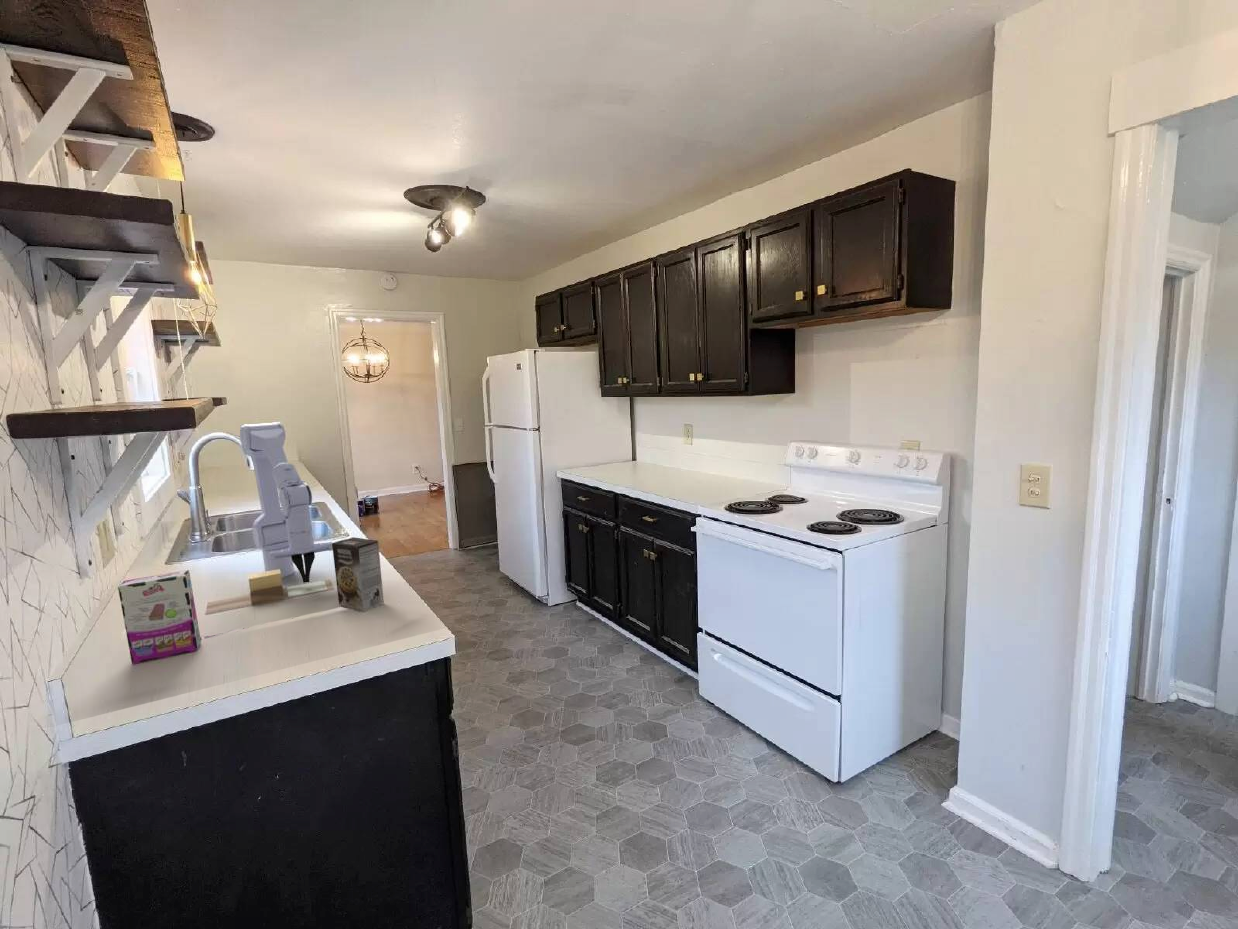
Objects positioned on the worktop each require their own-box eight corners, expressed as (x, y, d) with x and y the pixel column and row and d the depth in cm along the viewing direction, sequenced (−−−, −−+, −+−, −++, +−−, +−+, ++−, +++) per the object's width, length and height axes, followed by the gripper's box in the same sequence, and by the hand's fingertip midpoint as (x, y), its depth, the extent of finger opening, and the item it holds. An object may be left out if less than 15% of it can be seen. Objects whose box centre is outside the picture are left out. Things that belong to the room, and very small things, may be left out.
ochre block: (251, 597, 154) (248, 574, 153) (282, 591, 157) (280, 569, 157) (251, 602, 150) (248, 579, 149) (283, 596, 154) (280, 573, 153)
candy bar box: (201, 642, 129) (190, 569, 126) (198, 651, 124) (186, 575, 122) (136, 655, 124) (123, 579, 121) (130, 665, 119) (116, 586, 117)
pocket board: (208, 605, 151) (206, 591, 151) (330, 582, 166) (328, 568, 165) (205, 618, 143) (203, 602, 142) (334, 592, 157) (332, 578, 157)
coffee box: (337, 607, 146) (330, 543, 144) (360, 598, 152) (353, 536, 149) (363, 612, 142) (356, 546, 140) (385, 603, 147) (378, 539, 145)
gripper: (268, 539, 149) (275, 591, 151) (332, 529, 156) (338, 579, 158) (267, 533, 155) (274, 584, 157) (329, 524, 162) (334, 572, 164)
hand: (306, 581), depth 158 cm, fingers closed
